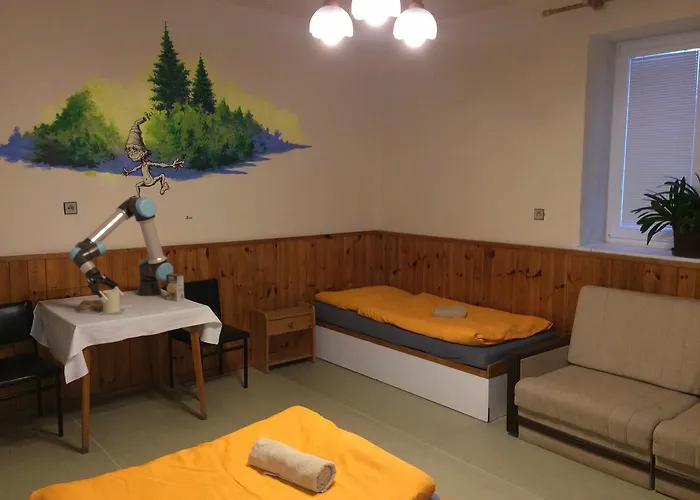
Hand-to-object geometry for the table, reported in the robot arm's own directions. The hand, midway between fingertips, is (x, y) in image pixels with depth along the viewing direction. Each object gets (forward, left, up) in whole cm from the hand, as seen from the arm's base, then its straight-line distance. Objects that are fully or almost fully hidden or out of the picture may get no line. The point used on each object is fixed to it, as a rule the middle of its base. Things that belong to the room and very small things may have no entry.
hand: (114, 298), depth 346 cm
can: (+2, -1, -7) cm, 8 cm away
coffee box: (-32, -29, -8) cm, 44 cm away
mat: (+2, -1, -8) cm, 8 cm away
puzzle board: (+13, -17, -8) cm, 22 cm away
